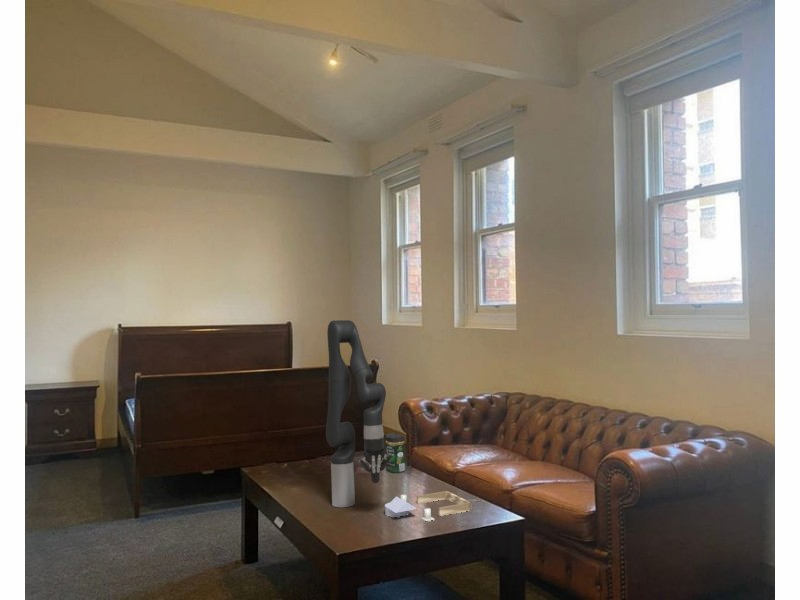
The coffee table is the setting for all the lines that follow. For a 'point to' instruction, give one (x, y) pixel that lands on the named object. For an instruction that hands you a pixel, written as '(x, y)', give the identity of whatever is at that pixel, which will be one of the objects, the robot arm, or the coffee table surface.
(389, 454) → the coffee jar
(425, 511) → the clip gate
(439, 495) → the frame
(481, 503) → the coffee table surface
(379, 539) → the coffee table surface
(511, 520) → the coffee table surface
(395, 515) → the wedge on round base
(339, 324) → the robot arm
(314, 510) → the coffee table surface
